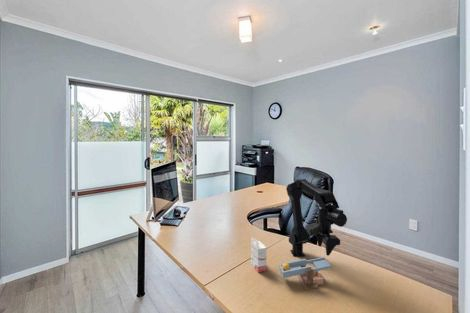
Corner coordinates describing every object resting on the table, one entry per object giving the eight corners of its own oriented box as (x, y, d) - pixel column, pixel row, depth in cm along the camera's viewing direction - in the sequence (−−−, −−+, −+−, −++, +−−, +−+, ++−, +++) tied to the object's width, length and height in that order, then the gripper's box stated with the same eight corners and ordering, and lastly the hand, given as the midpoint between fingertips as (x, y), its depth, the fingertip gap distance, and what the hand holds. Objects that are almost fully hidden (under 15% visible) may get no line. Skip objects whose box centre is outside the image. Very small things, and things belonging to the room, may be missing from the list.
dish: (317, 275, 106) (317, 269, 105) (324, 284, 98) (324, 278, 98) (297, 275, 105) (297, 270, 105) (302, 285, 98) (302, 279, 98)
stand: (308, 272, 108) (308, 257, 107) (318, 288, 96) (318, 271, 96) (295, 273, 107) (296, 257, 107) (304, 289, 96) (304, 271, 95)
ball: (284, 270, 103) (279, 264, 102) (290, 265, 103) (285, 260, 102) (286, 274, 99) (281, 269, 99) (292, 270, 99) (288, 264, 99)
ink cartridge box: (267, 270, 110) (267, 241, 108) (258, 273, 108) (258, 243, 107) (259, 261, 118) (259, 234, 116) (250, 263, 116) (250, 236, 115)
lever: (324, 259, 105) (323, 254, 105) (331, 268, 98) (331, 263, 98) (279, 269, 104) (278, 263, 104) (283, 278, 97) (282, 273, 97)
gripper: (300, 212, 113) (300, 241, 114) (316, 226, 94) (314, 262, 95) (322, 211, 113) (321, 241, 115) (341, 226, 95) (340, 261, 96)
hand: (323, 250), depth 105 cm, fingers open, 8 cm apart
